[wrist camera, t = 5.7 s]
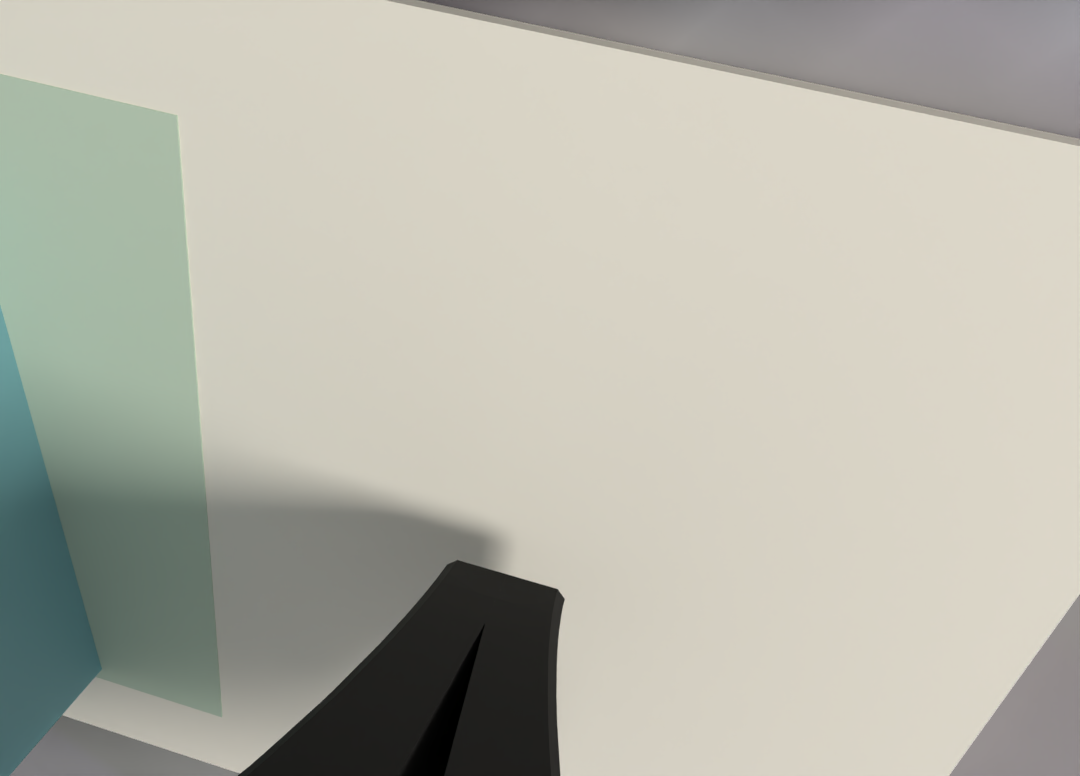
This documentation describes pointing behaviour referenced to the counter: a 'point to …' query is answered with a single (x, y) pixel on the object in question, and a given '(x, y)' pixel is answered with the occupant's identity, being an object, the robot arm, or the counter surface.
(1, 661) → the tee block
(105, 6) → the mat
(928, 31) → the counter surface
